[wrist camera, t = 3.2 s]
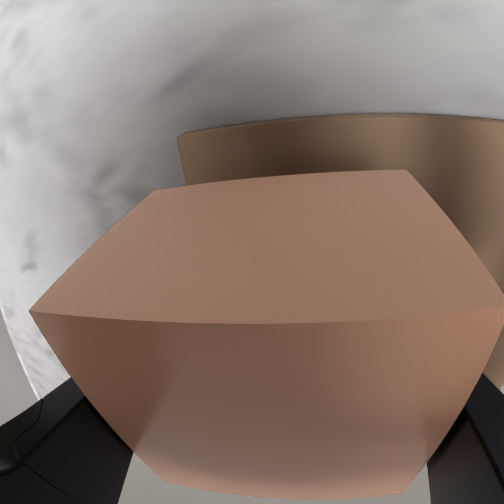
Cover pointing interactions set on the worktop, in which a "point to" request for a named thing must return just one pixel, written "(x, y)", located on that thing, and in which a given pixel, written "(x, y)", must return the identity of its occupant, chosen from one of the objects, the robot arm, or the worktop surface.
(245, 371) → the salmon foam cube
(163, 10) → the worktop surface
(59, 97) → the worktop surface
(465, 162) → the walnut board
